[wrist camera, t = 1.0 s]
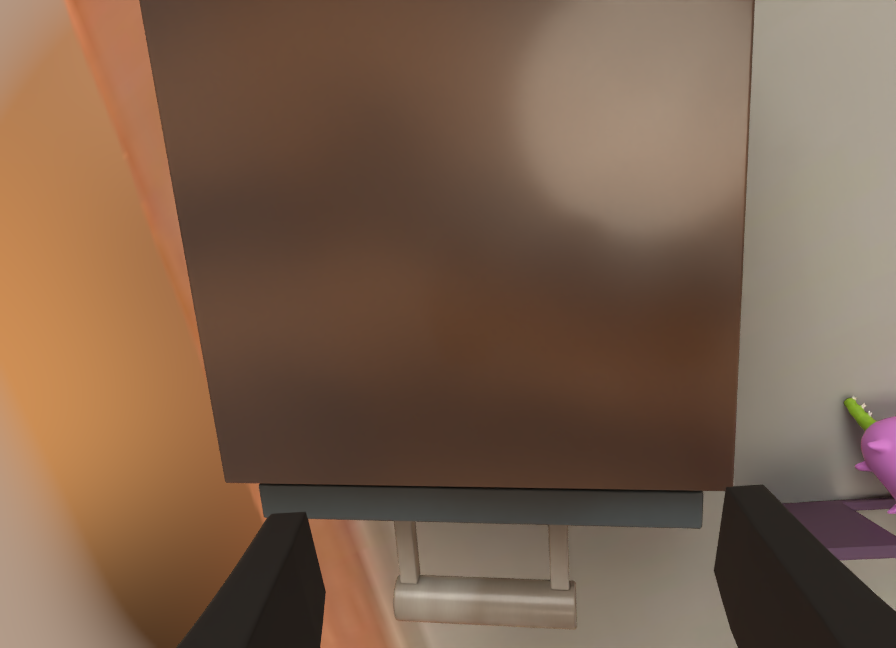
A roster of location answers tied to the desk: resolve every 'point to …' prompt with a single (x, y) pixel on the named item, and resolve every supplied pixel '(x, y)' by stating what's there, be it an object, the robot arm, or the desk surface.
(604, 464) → the cabinet
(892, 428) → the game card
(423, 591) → the drawer
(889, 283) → the desk surface
